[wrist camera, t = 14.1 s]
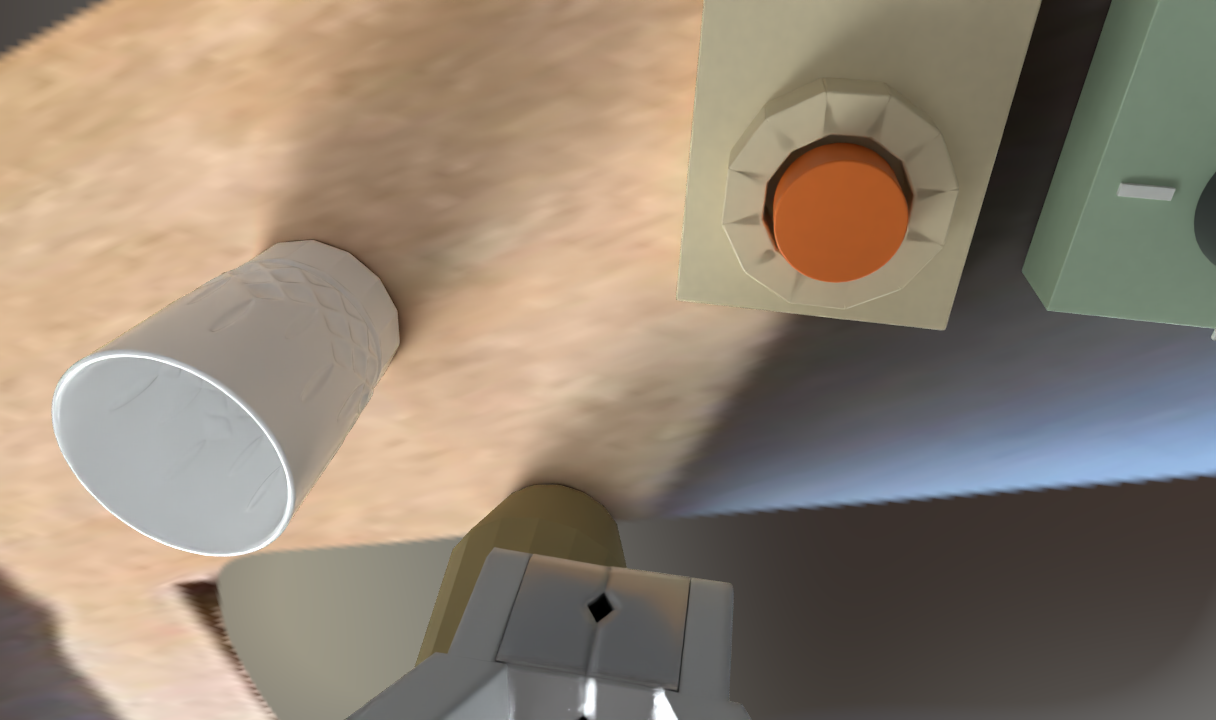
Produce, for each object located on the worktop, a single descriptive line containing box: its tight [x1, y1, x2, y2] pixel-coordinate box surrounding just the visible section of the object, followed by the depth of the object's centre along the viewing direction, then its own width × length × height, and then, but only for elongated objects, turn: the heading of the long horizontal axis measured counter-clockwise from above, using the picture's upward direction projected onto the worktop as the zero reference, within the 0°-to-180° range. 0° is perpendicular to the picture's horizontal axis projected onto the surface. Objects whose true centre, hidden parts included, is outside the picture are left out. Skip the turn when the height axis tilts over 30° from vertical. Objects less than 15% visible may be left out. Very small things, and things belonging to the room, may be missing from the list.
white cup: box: [52, 240, 400, 556], centre depth 29 cm, size 8×8×10 cm
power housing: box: [676, 0, 1042, 330], centre depth 25 cm, size 11×9×4 cm
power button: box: [773, 143, 908, 283], centre depth 23 cm, size 4×4×2 cm
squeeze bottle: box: [415, 485, 627, 667], centre depth 30 cm, size 8×8×18 cm
